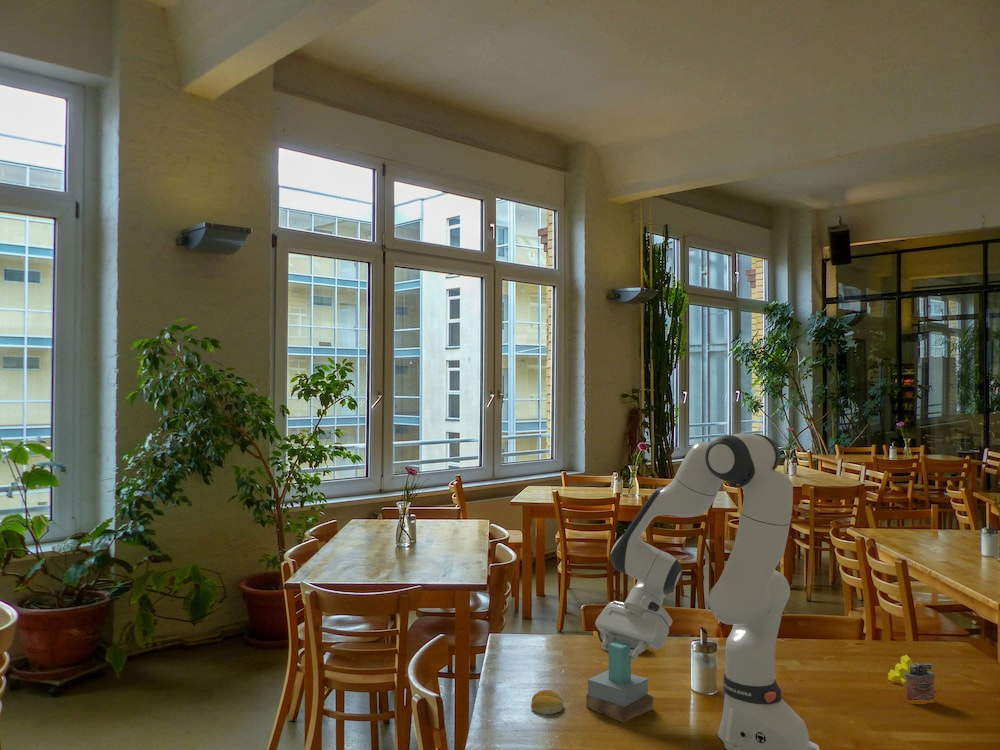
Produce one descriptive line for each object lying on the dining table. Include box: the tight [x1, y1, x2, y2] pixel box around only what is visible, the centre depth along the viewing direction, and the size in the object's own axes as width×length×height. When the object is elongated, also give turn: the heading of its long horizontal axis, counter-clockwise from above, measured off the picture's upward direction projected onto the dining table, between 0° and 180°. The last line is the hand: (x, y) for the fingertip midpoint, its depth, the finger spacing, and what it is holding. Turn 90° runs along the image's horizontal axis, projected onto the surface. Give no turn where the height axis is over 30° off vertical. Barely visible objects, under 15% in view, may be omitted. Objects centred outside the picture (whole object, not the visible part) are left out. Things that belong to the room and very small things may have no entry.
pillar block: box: [608, 641, 632, 684], centre depth 199 cm, size 4×4×9 cm
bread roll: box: [530, 689, 564, 715], centre depth 199 cm, size 8×9×4 cm
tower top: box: [587, 669, 649, 707], centre depth 199 cm, size 11×11×4 cm
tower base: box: [585, 692, 654, 723], centre depth 199 cm, size 12×12×4 cm
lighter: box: [905, 662, 936, 700], centre depth 205 cm, size 8×3×10 cm, turn 99°
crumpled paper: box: [887, 654, 915, 683], centre depth 220 cm, size 6×8×8 cm
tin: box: [597, 629, 638, 650], centre depth 246 cm, size 15×3×8 cm, turn 80°
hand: (617, 653), depth 198 cm, fingers open, 8 cm apart
